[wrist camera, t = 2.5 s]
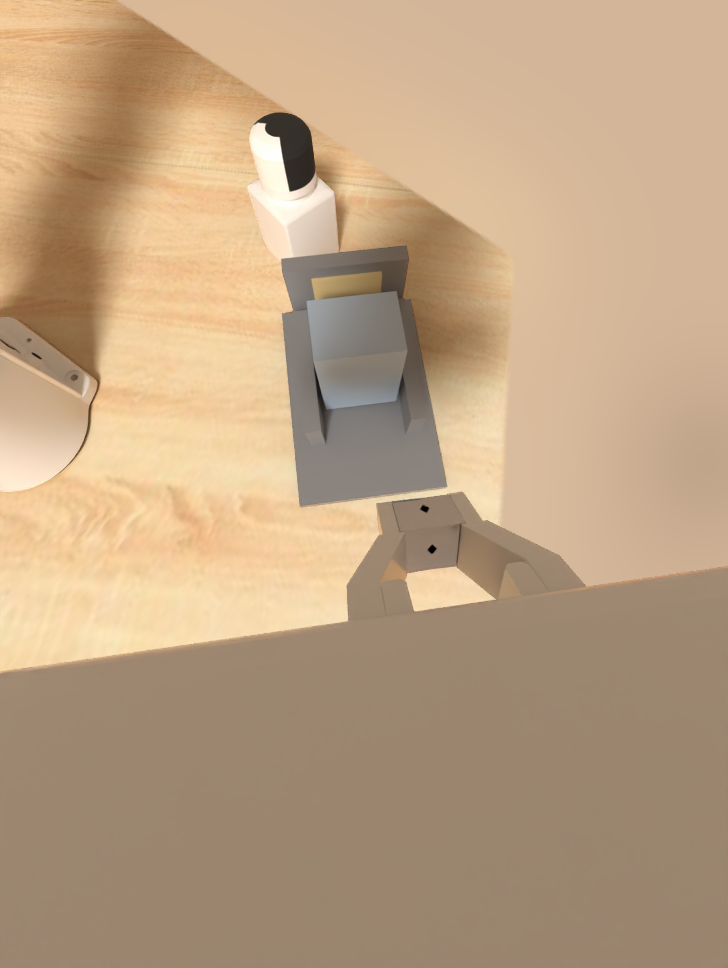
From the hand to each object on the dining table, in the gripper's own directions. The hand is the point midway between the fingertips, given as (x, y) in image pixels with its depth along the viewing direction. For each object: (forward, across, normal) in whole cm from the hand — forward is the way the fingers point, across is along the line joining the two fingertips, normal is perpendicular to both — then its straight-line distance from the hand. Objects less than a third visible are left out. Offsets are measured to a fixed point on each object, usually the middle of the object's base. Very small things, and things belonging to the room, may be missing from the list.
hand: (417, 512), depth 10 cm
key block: (+27, 0, +2) cm, 28 cm away
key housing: (+27, 0, +4) cm, 28 cm away
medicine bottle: (+43, +5, -12) cm, 45 cm away
